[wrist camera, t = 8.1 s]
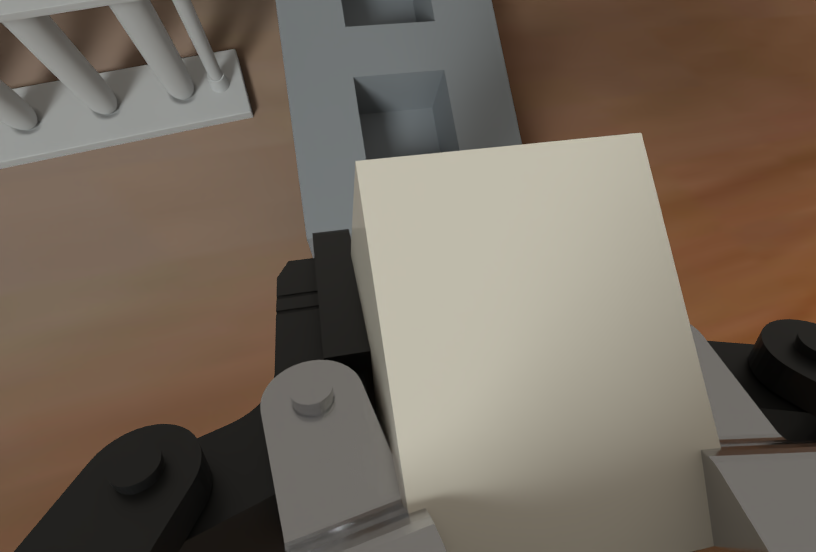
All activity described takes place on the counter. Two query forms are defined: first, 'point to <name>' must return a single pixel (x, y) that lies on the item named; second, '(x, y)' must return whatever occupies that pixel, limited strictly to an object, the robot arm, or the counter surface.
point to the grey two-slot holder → (387, 89)
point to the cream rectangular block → (533, 348)
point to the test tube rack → (113, 84)
